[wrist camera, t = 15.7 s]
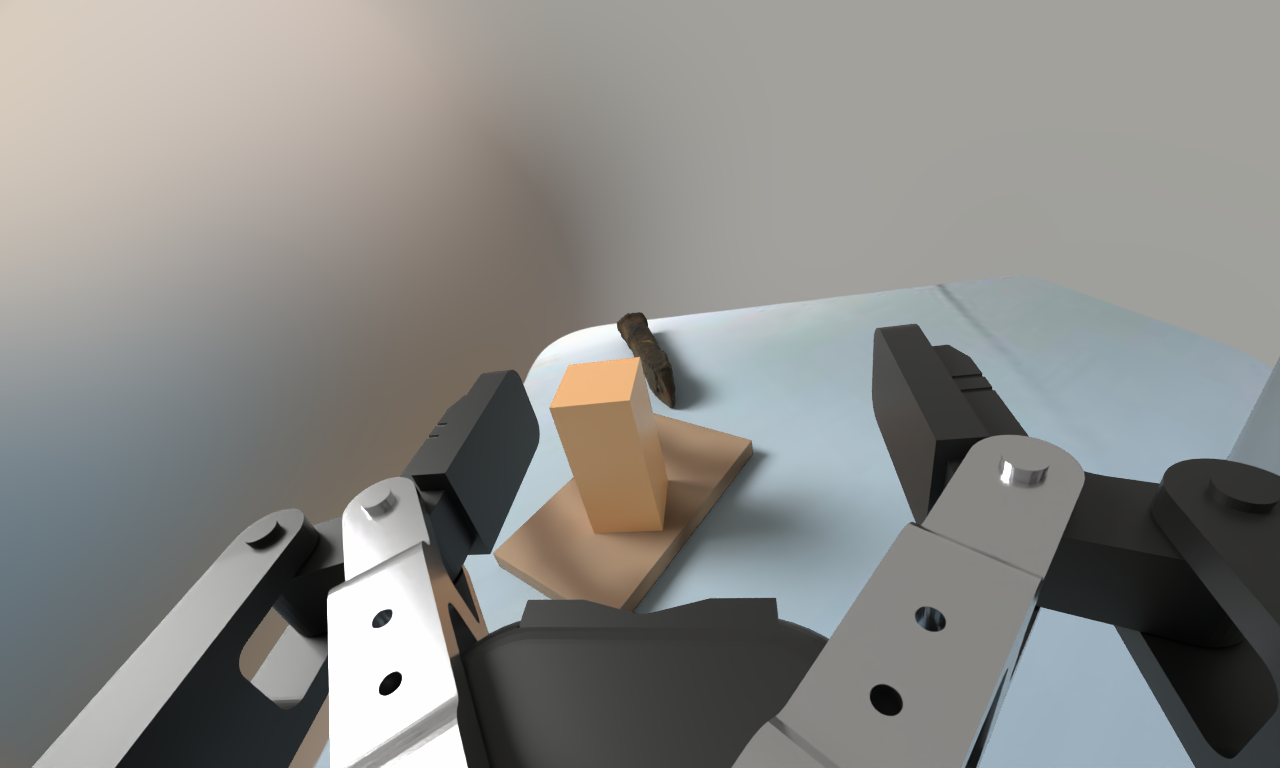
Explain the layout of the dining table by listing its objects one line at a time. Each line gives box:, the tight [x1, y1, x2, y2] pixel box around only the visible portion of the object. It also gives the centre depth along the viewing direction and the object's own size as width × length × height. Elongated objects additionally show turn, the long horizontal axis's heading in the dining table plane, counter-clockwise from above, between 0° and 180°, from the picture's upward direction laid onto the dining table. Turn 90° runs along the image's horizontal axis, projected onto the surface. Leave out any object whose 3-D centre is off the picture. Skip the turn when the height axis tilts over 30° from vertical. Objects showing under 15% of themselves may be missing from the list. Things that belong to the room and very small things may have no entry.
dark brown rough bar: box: [617, 312, 675, 408], centre depth 62 cm, size 19×4×5 cm, turn 11°
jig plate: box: [493, 413, 753, 612], centre depth 43 cm, size 20×12×5 cm, turn 143°
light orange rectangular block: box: [549, 357, 668, 533], centre depth 39 cm, size 5×5×12 cm
